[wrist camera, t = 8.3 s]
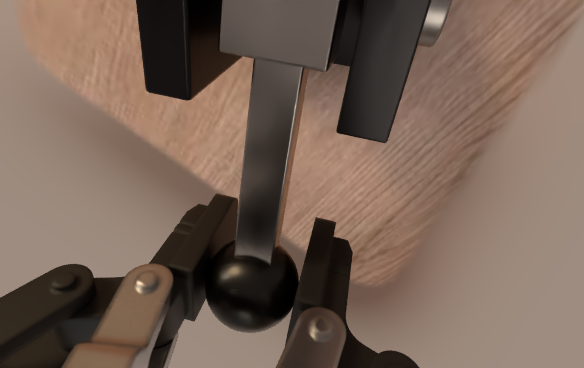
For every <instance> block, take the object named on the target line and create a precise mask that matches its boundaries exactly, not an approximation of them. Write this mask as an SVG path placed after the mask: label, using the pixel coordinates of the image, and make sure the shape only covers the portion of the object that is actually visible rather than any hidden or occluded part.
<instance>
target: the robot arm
mask: <svg viewBox="0 0 584 368" xmlns="http://www.w3.org/2000/svg"><path fill="white" fill-rule="evenodd" d="M237 211H238V199H237V198H234V197H230V196H226V195H221V194H216V195H215V196H214V197H213V199H212V201H211V202H210V203H209V205H208V206H206V205H201V204H198V205H197V206H195V207H193V208H192V209H190V210H189V211H187V212H186V214H185V215H184V216H183V218H182V219H181V221H180V223H179V224H178V225H177V226H176V227H175V229H174V231H173V232H172V233H171V234H170V236H169V237H168V238H167V240H166V241H165V242H164V244H163V245H162V246H161V248H160V250H159V251H158V252H157V253H156V255H155V256H154V257H153V259H152V260H151V262H150V263H149V264H145V265H141V266H138V267H136V268H134V269H133V270H131V271H130V272H129V273H128V274H127V275H126V276H125V277H115V278H94V277H93V274H92V272H91V270H90V269H89V268H87V267H86V266H83V265H79V264H68V265H63V266H60V267H57V268H55V269H53V270H51V271H49V272H47V273H45V274H43V275H42V276H40V277H38V278H36V279H34V280H33V281H30V282H29V283H27V284H25V285H23V286H21V287H19V288H18V289H16V290H14V291H12V292H10V293H8V294H6V295H5V296H3V297H1V298H0V368H168V366H169V362H170V359H171V357H172V353H173V351H174V348H175V345H176V341H177V338H178V330H179V328H180V326H181V324H182V322H183V321H184V319H187V320H191V321H195V319H196V317H197V315H198V313H199V311H200V309H201V307H202V305H203V303H204V301H205V299H206V295H205V277H206V273H207V269H208V266H209V264H210V262H211V261H212V259H213V257H214V256H215V255H216V253H217V252H218V251H219V250H220V249H221V248H222V247H223V246H225V245H226V244H228V243H229V242H231V241H233V240H235V235H236V226H237ZM335 225H336V222H334V221H329V220H325V219H321V218H317V217H316V219H315V222H314V226H313V230H312V234H311V238H310V242H309V246H308V250H307V253H306V257H305V261H304V265H303V269H302V273H301V277H300V281H299V284H298V288H297V292H296V296H295V300H294V305H293V310H292V315H291V320H290V324H289V329H288V334H287V339H286V344H285V348H284V350H283V353H282V355H281V357H280V359H279V362H278V364H277V366H276V368H419V367H418V366H417V364H416V363H415V362H414V361H413V360H412V359H410V358H409V357H408V356H406V355H404V354H402V353H400V352H397V351H383V352H381V353H379V354H378V353H376V352H375V351H373V350H371V349H370V348H368V347H367V346H365V345H363V344H362V343H361V342H359V341H358V340H357V339H356V338H355V337H354V336H353V335H352V333H351V332H350V330H349V328H348V326H347V323H346V306H347V298H348V289H349V280H350V271H351V262H352V253H353V252H352V250H351V247H350V245H349V242H348V240H345V239H341V238H336V237H333V236H334V231H335Z"/></svg>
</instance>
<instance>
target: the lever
mask: <svg viewBox="0 0 584 368" xmlns="http://www.w3.org/2000/svg"><path fill="white" fill-rule="evenodd" d="M348 2H349V0H221V8H220V25H219V41H218V50H219V51H220V52H224V53H229V54H234V55H239V56H244V57H249V58H254V63H253V73H252V82H251V92H250V101H249V111H248V120H247V130H246V140H245V149H244V159H243V168H242V178H241V188H240V197H239V207H238V216H237V226H236V235H235V240H233V241H231V242H229V243H228V244H226V245H225V246H223V247H222V248H221V249H220V250H219V251H218V252H217V253H216V255H215V256H214V257H213V259H212V261H211V262H210V264H209V266H208V269H207V273H206V277H205V295H206V299H207V302H208V305H209V307H210V309H211V310H212V312H213V314H214V315H215V316H216V317H217V318H218V319H219V321H221V322H222V323H223V324H224V325H226V326H228V327H229V328H231V329H234V330H237V331H241V332H247V333H254V332H261V331H265V330H267V329H269V328H271V327H273V326H275V325H277V324H278V323H279V322H281V321H282V320H283V319H284V318H285V317H286V316H287V315H288V313H289V312H290V311H291V309H292V307H293V305H294V300H295V296H296V292H297V288H298V284H299V280H298V273H297V269H296V265H295V263H294V261H293V259H292V257H291V256H290V255H289V253H288V252H287V251H286V250H285V249H284V248H283V247H282V246H281V245H280V244H279V242H280V236H281V230H282V225H283V219H284V213H285V207H286V201H287V195H288V190H289V184H290V178H291V172H292V166H293V161H294V155H295V149H296V143H297V137H298V131H299V126H300V120H301V114H302V108H303V102H304V97H305V91H306V85H307V79H308V73H309V69H311V70H316V71H321V72H327V71H328V69H329V68H330V66H331V65H332V63H333V62H334V61H335V59H336V58H337V56H338V51H339V46H340V41H341V36H342V32H343V27H344V22H345V17H346V12H347V7H348Z"/></svg>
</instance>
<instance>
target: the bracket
mask: <svg viewBox="0 0 584 368" xmlns="http://www.w3.org/2000/svg"><path fill="white" fill-rule="evenodd" d="M451 2H452V0H349V2H348V7H347V12H346V17H345V22H344V27H343V32H342V36H341V41H340V46H339V51H338V56H337V58H336V59H335V61H334V62H333V63H334V64H339V65H344V66H350V70H349V75H348V79H347V84H346V88H345V93H344V97H343V102H342V107H341V111H340V116H339V120H338V125H337V130H336V131H337V133H339V134H344V135H349V136H354V137H358V138H363V139H368V140H373V141H377V142H382V143H386V142H387V141H388V138H389V135H390V131H391V128H392V125H393V122H394V119H395V116H396V112H397V109H398V106H399V103H400V100H401V96H402V93H403V90H404V87H405V84H406V81H407V77H408V74H409V71H410V68H411V65H412V61H413V58H414V55H415V52H416V49H417V46H418V45H421V46H427V47H431V46H433V45H434V43H435V42H436V40H437V39H438V37H439V35H440V33H441V31H442V28H443V26H444V23H445V21H446V18H447V15H448V12H449V9H450V6H451ZM136 4H137V13H138V23H139V32H140V41H141V50H142V59H143V68H144V77H145V86H146V90H147V91H148V92H149V93H154V94H159V95H163V96H168V97H173V98H178V99H183V100H191V99H192V98H194V97H195V96H196V95H197V94H198V93H199V92H201V91H202V90H203V89H204V88H205V87H207V86H208V85H209V84H210V83H211V82H213V81H214V80H215V79H216V78H217V77H219V76H220V75H221V74H222V73H223V72H225V71H226V70H227V69H228V68H229V67H231V66H232V65H233V64H234V63H235V62H237V61H238V60H239V59H240V58H241V57H243V56H239V55H234V54H229V53H224V52H220V51H219V50H218V41H219V25H220V8H221V0H136Z"/></svg>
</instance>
